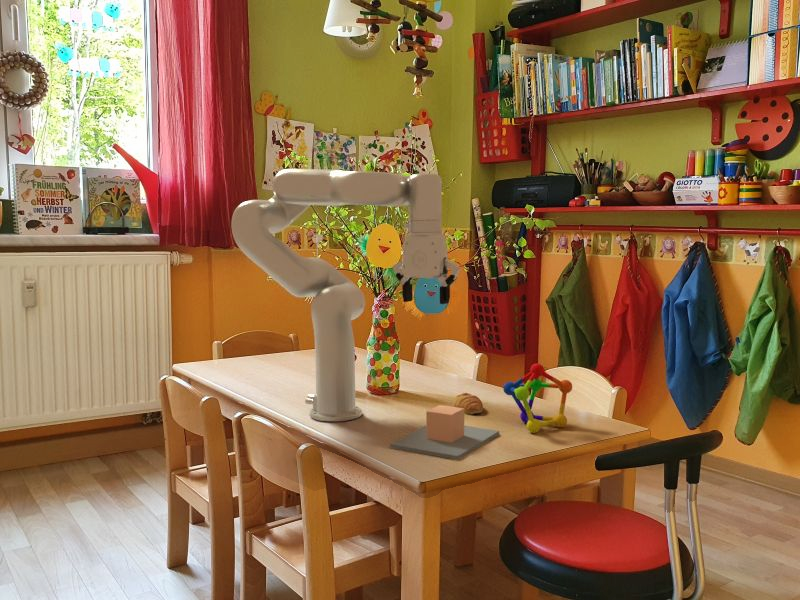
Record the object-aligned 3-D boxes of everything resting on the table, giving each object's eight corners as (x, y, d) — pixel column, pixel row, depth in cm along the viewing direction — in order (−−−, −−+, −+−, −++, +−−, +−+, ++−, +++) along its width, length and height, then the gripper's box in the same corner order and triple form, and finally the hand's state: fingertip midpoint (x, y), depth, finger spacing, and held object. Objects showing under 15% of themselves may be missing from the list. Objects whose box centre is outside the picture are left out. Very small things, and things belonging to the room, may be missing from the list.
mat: (389, 447, 153) (389, 443, 153) (435, 424, 170) (435, 421, 170) (457, 460, 145) (457, 456, 145) (499, 434, 162) (499, 430, 162)
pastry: (490, 414, 179) (489, 399, 179) (464, 417, 177) (464, 402, 177) (474, 405, 188) (474, 391, 188) (450, 408, 186) (450, 393, 186)
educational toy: (529, 419, 178) (534, 357, 177) (574, 430, 168) (579, 365, 167) (486, 425, 167) (491, 360, 167) (531, 437, 158) (536, 368, 157)
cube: (426, 438, 157) (426, 411, 156) (439, 431, 162) (439, 404, 161) (451, 442, 153) (451, 414, 153) (464, 435, 159) (464, 408, 158)
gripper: (384, 228, 169) (385, 302, 171) (451, 228, 160) (451, 306, 162) (401, 228, 175) (402, 299, 177) (466, 227, 166) (466, 302, 168)
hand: (425, 302), depth 170 cm, fingers open, 9 cm apart
